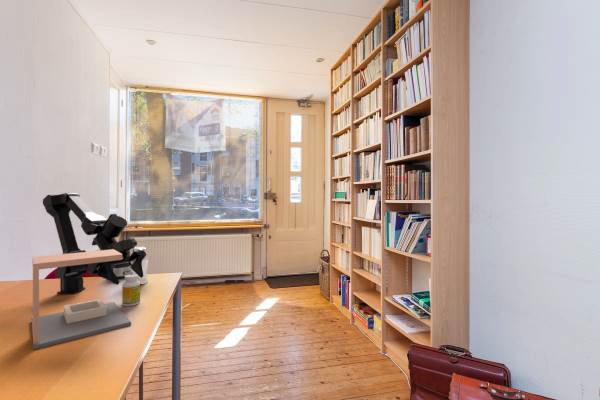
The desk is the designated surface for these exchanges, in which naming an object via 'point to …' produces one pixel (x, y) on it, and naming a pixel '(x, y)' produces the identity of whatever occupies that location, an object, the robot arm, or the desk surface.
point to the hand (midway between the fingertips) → (130, 280)
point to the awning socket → (75, 316)
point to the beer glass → (144, 264)
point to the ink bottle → (122, 269)
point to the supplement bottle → (131, 290)
